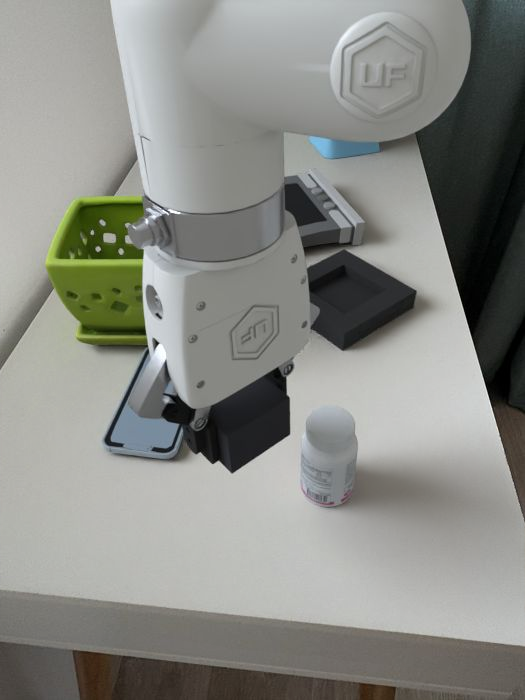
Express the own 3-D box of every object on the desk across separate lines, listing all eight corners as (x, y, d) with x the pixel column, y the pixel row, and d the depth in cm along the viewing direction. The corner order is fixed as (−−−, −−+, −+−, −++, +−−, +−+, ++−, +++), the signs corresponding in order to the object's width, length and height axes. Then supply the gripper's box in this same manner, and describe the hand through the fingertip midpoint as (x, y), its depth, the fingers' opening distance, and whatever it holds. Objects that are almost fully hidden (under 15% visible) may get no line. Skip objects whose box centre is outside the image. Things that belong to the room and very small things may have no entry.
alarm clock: (365, 222, 84) (248, 235, 79) (359, 252, 87) (247, 267, 82) (316, 168, 96) (213, 177, 92) (313, 196, 99) (213, 206, 95)
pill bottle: (338, 458, 59) (344, 395, 53) (362, 498, 55) (371, 435, 50) (291, 474, 57) (292, 411, 52) (313, 515, 54) (316, 453, 48)
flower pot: (68, 359, 70) (38, 263, 61) (94, 285, 80) (72, 194, 72) (194, 358, 69) (181, 261, 61) (204, 284, 80) (194, 193, 71)
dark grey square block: (244, 394, 50) (241, 357, 47) (290, 434, 46) (290, 396, 44) (187, 429, 47) (180, 392, 45) (231, 474, 44) (227, 437, 41)
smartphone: (211, 351, 69) (174, 456, 58) (211, 357, 70) (175, 462, 58) (146, 344, 70) (97, 446, 59) (147, 351, 71) (99, 453, 59)
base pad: (342, 265, 82) (344, 248, 81) (414, 307, 75) (417, 290, 74) (273, 301, 77) (272, 284, 75) (342, 351, 70) (344, 333, 68)
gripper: (114, 306, 28) (169, 529, 40) (374, 183, 36) (356, 400, 48) (43, 241, 33) (111, 459, 45) (288, 144, 41) (291, 352, 53)
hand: (238, 427), depth 46 cm, fingers closed on dark grey square block, 5 cm apart
